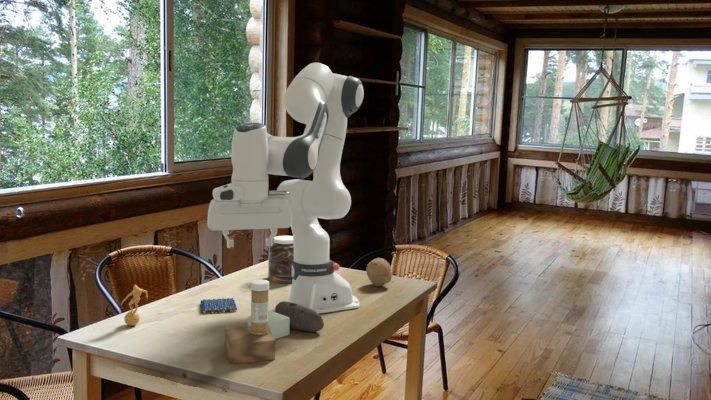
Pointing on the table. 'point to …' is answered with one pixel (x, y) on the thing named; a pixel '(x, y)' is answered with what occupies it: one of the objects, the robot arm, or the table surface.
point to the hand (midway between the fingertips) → (249, 246)
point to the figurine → (133, 316)
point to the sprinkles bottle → (259, 307)
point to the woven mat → (218, 305)
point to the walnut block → (248, 345)
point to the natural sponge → (379, 272)
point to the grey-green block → (276, 324)
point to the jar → (281, 259)
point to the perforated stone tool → (300, 316)
